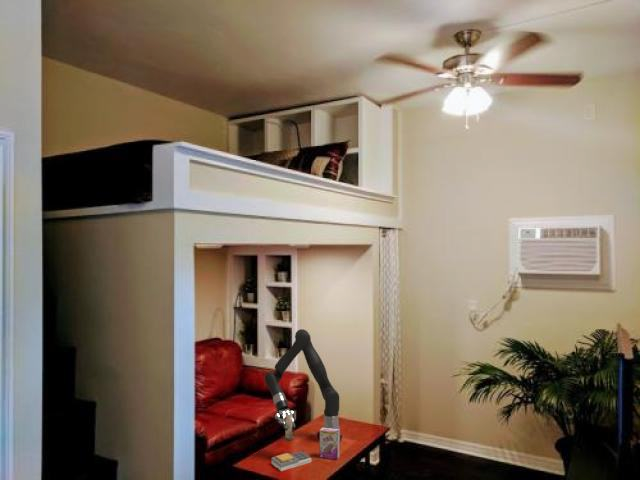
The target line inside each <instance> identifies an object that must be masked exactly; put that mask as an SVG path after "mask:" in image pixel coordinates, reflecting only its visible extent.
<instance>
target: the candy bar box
mask: <svg viewBox="0 0 640 480" xmlns="http://www.w3.org/2000/svg"><path fill="white" fill-rule="evenodd" d="M319 458H320V459H327V460H334V461H335V460H338V459H339V458H340V441H339V429H331V428H324V427H321V428H320V429H319Z"/></svg>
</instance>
